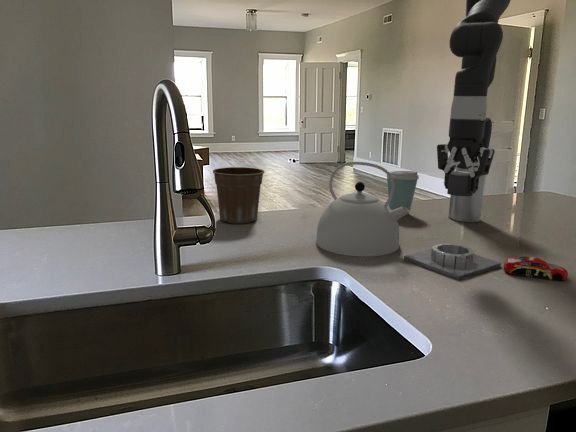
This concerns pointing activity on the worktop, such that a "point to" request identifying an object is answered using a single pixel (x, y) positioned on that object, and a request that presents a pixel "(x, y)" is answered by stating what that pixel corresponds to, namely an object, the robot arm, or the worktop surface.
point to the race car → (534, 268)
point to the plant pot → (238, 193)
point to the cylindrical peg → (458, 183)
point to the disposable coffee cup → (402, 189)
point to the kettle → (359, 222)
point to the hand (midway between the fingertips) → (460, 190)
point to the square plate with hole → (452, 261)
